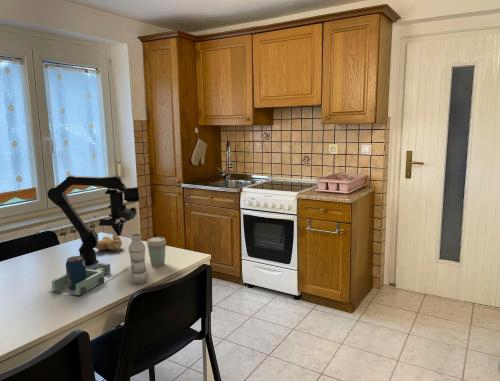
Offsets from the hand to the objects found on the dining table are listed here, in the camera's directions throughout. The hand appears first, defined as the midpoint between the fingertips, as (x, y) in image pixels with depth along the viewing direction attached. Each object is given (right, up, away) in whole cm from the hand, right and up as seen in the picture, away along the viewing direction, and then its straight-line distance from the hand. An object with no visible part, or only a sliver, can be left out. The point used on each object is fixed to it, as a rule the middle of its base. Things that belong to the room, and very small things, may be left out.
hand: (119, 235), depth 183 cm
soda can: (-7, -17, -28) cm, 33 cm away
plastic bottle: (+16, -16, -24) cm, 34 cm away
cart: (-5, -16, -23) cm, 28 cm away
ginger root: (-11, -9, +19) cm, 24 cm away
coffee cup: (+19, -13, -4) cm, 23 cm away
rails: (-5, -16, -21) cm, 27 cm away
